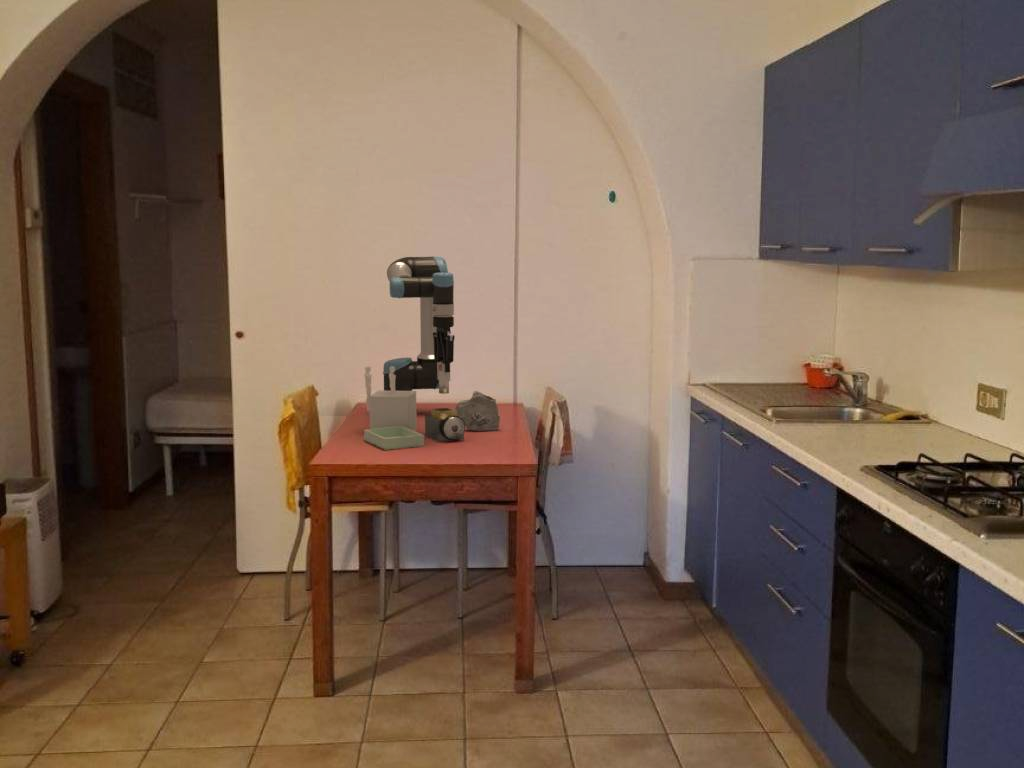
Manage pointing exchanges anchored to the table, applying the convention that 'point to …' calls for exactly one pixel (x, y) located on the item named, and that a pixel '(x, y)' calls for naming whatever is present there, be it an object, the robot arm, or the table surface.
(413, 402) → the grey box
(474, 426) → the fossil
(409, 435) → the tray
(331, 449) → the table surface
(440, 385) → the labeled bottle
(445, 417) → the block
